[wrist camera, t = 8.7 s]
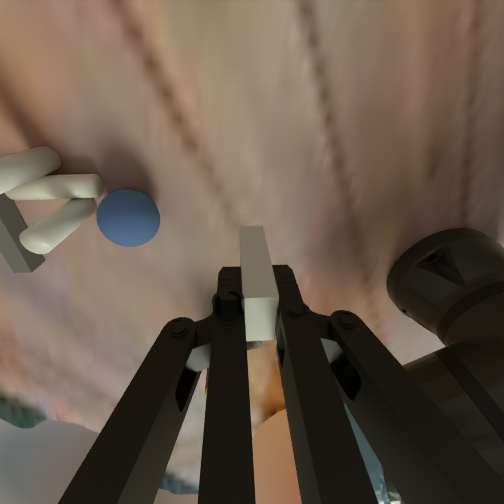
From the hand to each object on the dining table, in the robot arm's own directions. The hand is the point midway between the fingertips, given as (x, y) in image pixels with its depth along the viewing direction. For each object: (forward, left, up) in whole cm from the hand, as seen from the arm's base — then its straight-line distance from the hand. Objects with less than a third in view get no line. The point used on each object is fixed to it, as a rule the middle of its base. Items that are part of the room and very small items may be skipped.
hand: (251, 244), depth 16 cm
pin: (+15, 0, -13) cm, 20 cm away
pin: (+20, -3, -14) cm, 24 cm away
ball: (+12, +3, -11) cm, 17 cm away
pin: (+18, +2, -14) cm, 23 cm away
